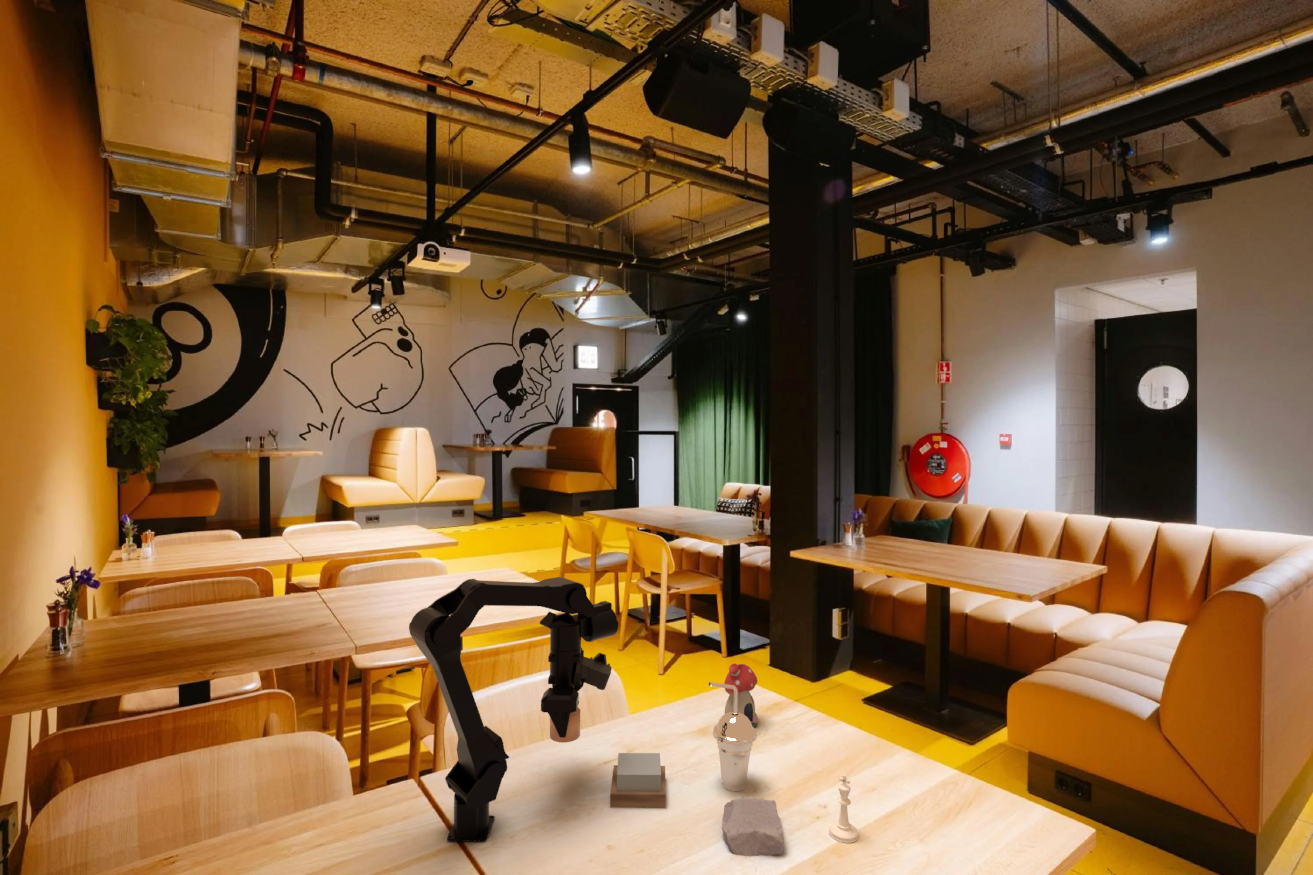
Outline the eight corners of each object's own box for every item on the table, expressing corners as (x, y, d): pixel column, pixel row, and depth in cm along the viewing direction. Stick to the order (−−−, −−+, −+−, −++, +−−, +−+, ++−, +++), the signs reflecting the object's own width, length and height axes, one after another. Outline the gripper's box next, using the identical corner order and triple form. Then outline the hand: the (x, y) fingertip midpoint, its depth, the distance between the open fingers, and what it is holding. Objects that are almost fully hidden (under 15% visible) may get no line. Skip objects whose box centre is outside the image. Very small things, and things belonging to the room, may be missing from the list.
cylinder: (578, 742, 120) (578, 718, 120) (547, 742, 120) (547, 717, 120) (581, 728, 126) (581, 704, 126) (552, 727, 126) (552, 704, 126)
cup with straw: (751, 800, 121) (753, 692, 120) (704, 791, 124) (705, 685, 123) (759, 777, 129) (761, 676, 128) (714, 769, 132) (716, 670, 131)
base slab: (665, 810, 118) (665, 794, 118) (610, 810, 118) (610, 793, 118) (664, 780, 128) (665, 765, 128) (613, 780, 128) (613, 765, 128)
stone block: (728, 868, 105) (790, 856, 105) (722, 838, 105) (784, 827, 105) (722, 825, 117) (777, 815, 117) (717, 798, 117) (772, 788, 117)
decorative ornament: (732, 735, 146) (733, 668, 146) (715, 723, 152) (716, 659, 152) (764, 725, 151) (766, 661, 151) (746, 715, 157) (747, 652, 156)
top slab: (660, 791, 119) (661, 774, 119) (616, 791, 119) (616, 774, 119) (659, 768, 127) (659, 752, 127) (618, 768, 127) (618, 752, 127)
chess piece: (835, 821, 115) (837, 764, 115) (863, 832, 112) (864, 774, 112) (823, 834, 111) (824, 776, 111) (851, 846, 108) (852, 786, 108)
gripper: (605, 665, 113) (604, 754, 114) (611, 631, 132) (611, 708, 132) (540, 664, 113) (539, 754, 113) (556, 630, 132) (555, 707, 132)
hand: (564, 729), depth 123 cm, fingers closed on cylinder, 6 cm apart
